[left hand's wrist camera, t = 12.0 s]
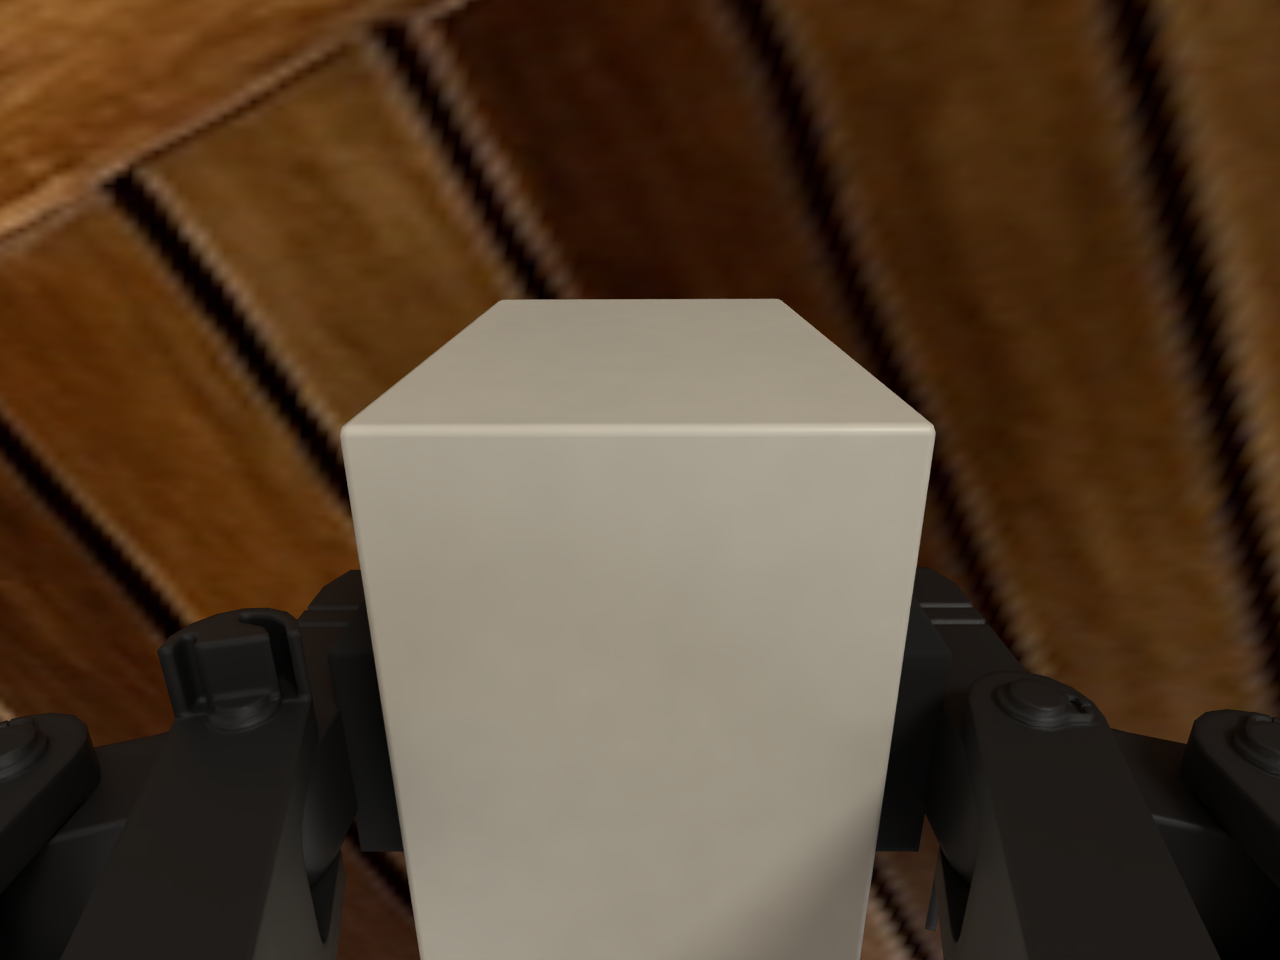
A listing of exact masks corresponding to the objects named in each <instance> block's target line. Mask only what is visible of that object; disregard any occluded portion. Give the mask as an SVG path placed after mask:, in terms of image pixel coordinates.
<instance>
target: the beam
mask: <svg viewBox="0 0 1280 960" xmlns="http://www.w3.org/2000/svg"><path fill="white" fill-rule="evenodd" d="M340 438H341V444H342V451H343V457H344V464H345V471H346V477H347V484H348V490H349V497H350V503H351V510H352V516H353V523H354V529H355V536H356V542H357V549H358V555H359V562H360V568H361V575H362V581H363V588H364V594H365V601H366V607H367V614H368V620H369V627H370V633H371V640H372V646H373V653H374V659H375V666H376V672H377V679H378V686H379V692H380V699H381V705H382V712H383V718H384V725H385V731H386V738H387V744H388V751H389V757H390V764H391V770H392V777H393V783H394V790H395V796H396V803H397V809H398V816H399V822H400V829H401V835H402V842H403V848H404V855H405V861H406V868H407V874H408V881H409V887H410V894H411V901H412V907H413V914H414V920H415V927H416V933H417V940H418V946H419V953H420V959H421V960H860V954H861V947H862V940H863V933H864V927H865V920H866V913H867V906H868V899H869V892H870V885H871V878H872V871H873V864H874V857H875V850H876V843H877V836H878V829H879V822H880V815H881V808H882V802H883V795H884V788H885V781H886V774H887V767H888V760H889V753H890V746H891V739H892V732H893V725H894V718H895V711H896V704H897V697H898V690H899V683H900V677H901V670H902V663H903V656H904V649H905V642H906V635H907V628H908V621H909V614H910V607H911V600H912V593H913V586H914V579H915V572H916V565H917V558H918V551H919V545H920V538H921V531H922V524H923V517H924V510H925V503H926V496H927V489H928V482H929V475H930V468H931V461H932V454H933V447H934V440H935V430H934V426H933V425H932V424H931V423H930V422H929V421H928V420H926V419H925V418H924V417H923V416H921V415H920V414H919V413H918V412H917V411H915V410H914V409H913V408H912V407H910V406H909V405H908V404H907V403H906V402H904V401H903V400H902V399H901V398H899V397H898V396H897V395H896V394H895V393H893V392H892V391H891V390H890V389H889V388H887V387H886V386H885V385H884V384H882V383H881V382H880V381H879V380H878V379H876V378H875V377H874V376H873V375H871V374H870V373H869V372H868V371H867V370H865V369H864V368H863V367H862V366H860V365H859V364H858V363H857V362H856V361H854V360H853V359H852V358H851V357H849V356H848V355H847V354H846V353H845V352H843V351H842V350H841V349H840V348H838V347H837V346H836V345H835V344H834V343H832V342H831V341H830V340H829V339H827V338H826V337H825V336H824V335H823V334H821V333H820V332H819V331H818V330H816V329H815V328H814V327H813V326H812V325H810V324H809V323H808V322H807V321H805V320H804V319H803V318H802V317H801V316H799V315H798V314H797V313H796V312H794V311H793V310H792V309H791V308H790V307H788V306H787V305H786V304H785V303H783V302H782V301H781V300H779V299H622V300H501V301H499V302H497V303H496V304H495V305H494V306H492V307H491V308H490V309H489V310H487V311H486V312H485V313H484V314H482V315H481V316H480V317H479V318H477V319H476V320H475V321H474V322H472V323H471V324H470V325H469V326H467V327H466V328H465V329H464V330H462V331H461V332H460V333H459V334H457V335H456V336H455V337H454V338H452V339H451V340H450V341H449V342H447V343H446V344H445V345H444V346H442V347H441V348H440V349H439V350H437V351H436V352H435V353H434V354H432V355H431V356H430V357H429V358H427V359H426V360H425V361H424V362H422V363H421V364H420V365H419V366H417V367H416V368H415V369H414V370H412V371H411V372H410V373H409V374H407V375H406V376H405V377H404V378H402V379H401V380H400V381H399V382H397V383H396V384H395V385H394V386H392V387H391V388H390V389H389V390H387V391H386V392H385V393H384V394H382V395H381V396H380V397H379V398H377V399H376V400H375V401H374V402H372V403H371V404H370V405H369V406H367V407H366V408H365V409H364V410H362V411H361V412H360V413H359V414H357V415H356V416H355V417H354V418H352V419H351V420H350V421H349V422H347V423H346V424H345V425H344V426H342V429H341V433H340Z"/></svg>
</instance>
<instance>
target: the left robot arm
mask: <svg viewBox="0 0 1280 960" xmlns="http://www.w3.org/2000/svg"><path fill="white" fill-rule="evenodd" d="M157 652H158V655H159V659H160V663H161V667H162V670H163V674H164V678H165V681H166V685H167V689H168V693H169V696H170V700H171V704H172V708H173V711H174V715H175V720H174V722H173V724H172V726H171V728H170V730H169V732H165V733H161V734H157V735H154V736H149V737H144V738H139V739H134V740H129V741H124V742H119V743H114V744H109V745H104V746H99V747H93V744H92V741H91V738H90V735H89V732H88V729H87V725H86V724H85V723H84V722H82V721H81V720H80V719H78V718H77V717H76V716H74V715H67V714H59V713H47V714H39V715H31V716H23V717H18V718H14V719H11V721H7V720H6V721H3V722H0V960H336V958H337V950H338V941H339V933H340V925H341V916H342V908H343V899H344V891H345V883H346V878H345V871H344V865H343V859H342V854H341V848H340V847H341V845H342V843H343V841H344V839H345V836H346V834H347V832H348V830H349V828H350V825H351V823H352V821H353V819H354V817H355V818H356V824H357V829H358V835H359V841H360V847H361V851H404V848H403V842H402V835H401V829H400V822H399V816H398V809H397V803H396V796H395V790H394V783H393V777H392V770H391V764H390V757H389V751H388V744H387V738H386V731H385V725H384V718H383V712H382V705H381V699H380V692H379V686H378V679H377V672H376V666H375V659H374V653H373V646H372V640H371V633H370V627H369V620H368V614H367V607H366V601H365V594H364V588H363V581H362V575H361V570H350V571H348V572H347V573H345V574H344V575H342V576H340V577H339V578H337V579H335V580H334V581H332V582H331V583H329V584H327V585H326V586H324V587H323V588H322V590H321V591H320V592H319V593H318V595H317V596H316V597H315V598H314V600H313V601H312V602H311V603H310V605H309V606H308V610H305V611H304V612H303V613H302V615H301V616H300V617H299V619H298V620H297V619H296V618H294V617H293V616H292V615H290V614H289V613H288V612H285V611H280V610H276V609H271V608H246V609H239V610H234V611H229V612H224V613H220V614H216V615H213V616H210V617H208V618H205V619H202V620H200V621H197V622H194V623H192V624H190V625H188V626H187V627H185V628H183V629H182V630H180V631H178V632H177V633H175V634H173V635H172V636H170V637H169V638H168V639H167V640H166V641H165V643H164V644H163V645H162V646H161V647H160V648H159V649H158V650H157ZM925 814H926V816H927V818H928V820H929V822H930V824H931V827H932V829H933V831H934V833H935V835H936V838H937V840H938V842H939V844H940V848H939V854H938V859H937V864H936V870H935V875H934V881H933V886H932V891H931V897H930V902H929V907H928V913H927V919H926V926H925V929H927V930H932V931H936V926H937V921H938V915H939V923H940V931H941V939H942V948H943V956H944V960H1280V719H1279V718H1276V717H1273V718H1272V717H1270V716H1269V715H1265V714H1261V713H1256V712H1246V711H1238V710H1229V709H1225V710H1218V711H1210V712H1205V713H1204V714H1203V715H1201V716H1200V717H1199V718H1197V719H1196V720H1195V721H1194V724H1193V727H1192V730H1191V733H1190V736H1189V739H1188V742H1187V744H1183V743H1178V742H1173V741H1168V740H1163V739H1158V738H1153V737H1148V736H1143V735H1138V734H1133V733H1128V732H1124V731H1120V730H1116V729H1113V728H1110V727H1109V725H1108V723H1107V721H1106V719H1105V717H1104V716H1103V714H1102V713H1101V712H1100V711H1099V709H1098V708H1097V707H1096V705H1095V704H1094V703H1093V702H1092V701H1091V700H1089V699H1088V698H1087V697H1085V696H1084V695H1082V694H1081V693H1079V692H1078V691H1077V690H1075V689H1074V688H1072V687H1070V686H1068V685H1065V684H1063V683H1061V682H1058V681H1056V680H1054V679H1051V678H1049V677H1046V676H1041V675H1037V674H1033V673H1029V672H1026V671H1025V669H1024V668H1023V667H1022V666H1021V664H1020V663H1019V662H1018V661H1017V659H1016V658H1015V657H1014V656H1013V654H1012V653H1011V652H1010V651H1009V649H1008V648H1007V647H1006V646H1005V644H1004V643H1003V642H1002V641H1001V639H1000V638H999V637H998V636H997V634H996V633H995V632H994V631H993V629H992V628H991V627H990V626H989V624H985V619H984V618H983V617H982V616H981V614H980V613H979V612H978V611H977V609H976V608H972V603H971V602H970V601H969V599H968V598H967V597H966V596H965V594H964V593H963V592H962V591H961V589H960V588H959V587H958V586H957V584H955V583H954V582H952V581H950V580H949V579H947V578H945V577H944V576H942V575H941V574H939V573H937V572H936V571H934V570H933V569H931V568H929V567H916V572H915V579H914V586H913V593H912V600H911V607H910V614H909V621H908V628H907V635H906V642H905V649H904V656H903V663H902V670H901V677H900V683H899V690H898V697H897V704H896V711H895V718H894V725H893V732H892V739H891V746H890V753H889V760H888V767H887V774H886V781H885V788H884V795H883V802H882V808H881V815H880V822H879V829H878V836H877V843H876V850H875V851H918V850H919V844H920V838H921V833H922V827H923V821H924V815H925Z"/></svg>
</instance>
